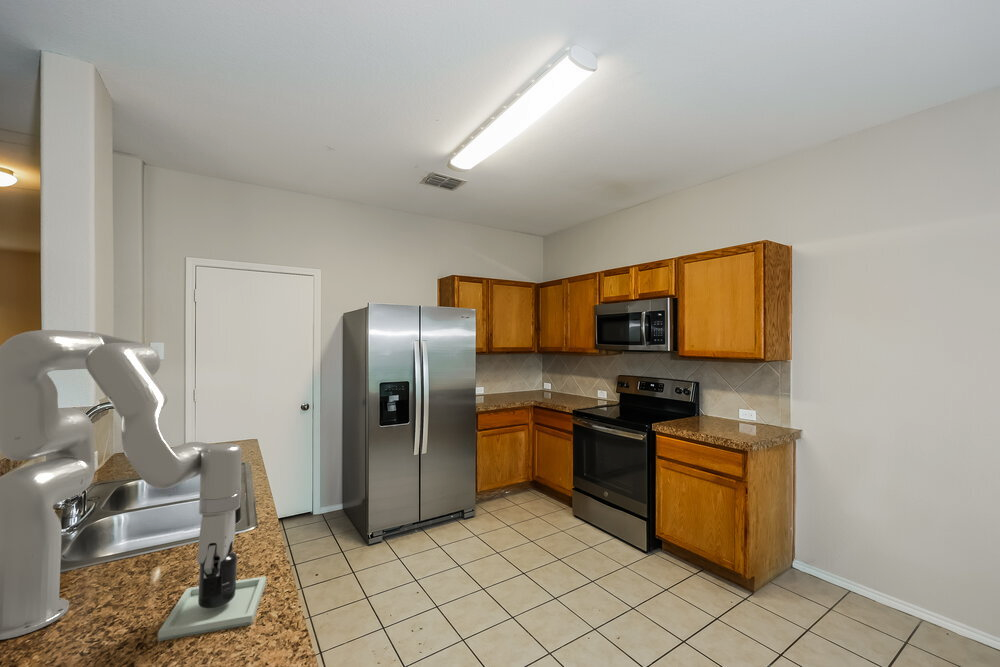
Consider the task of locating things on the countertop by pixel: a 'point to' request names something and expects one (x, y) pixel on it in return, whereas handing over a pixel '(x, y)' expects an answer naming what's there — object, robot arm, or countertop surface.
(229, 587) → the supplement bottle
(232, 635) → the countertop surface
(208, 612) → the sage tray
